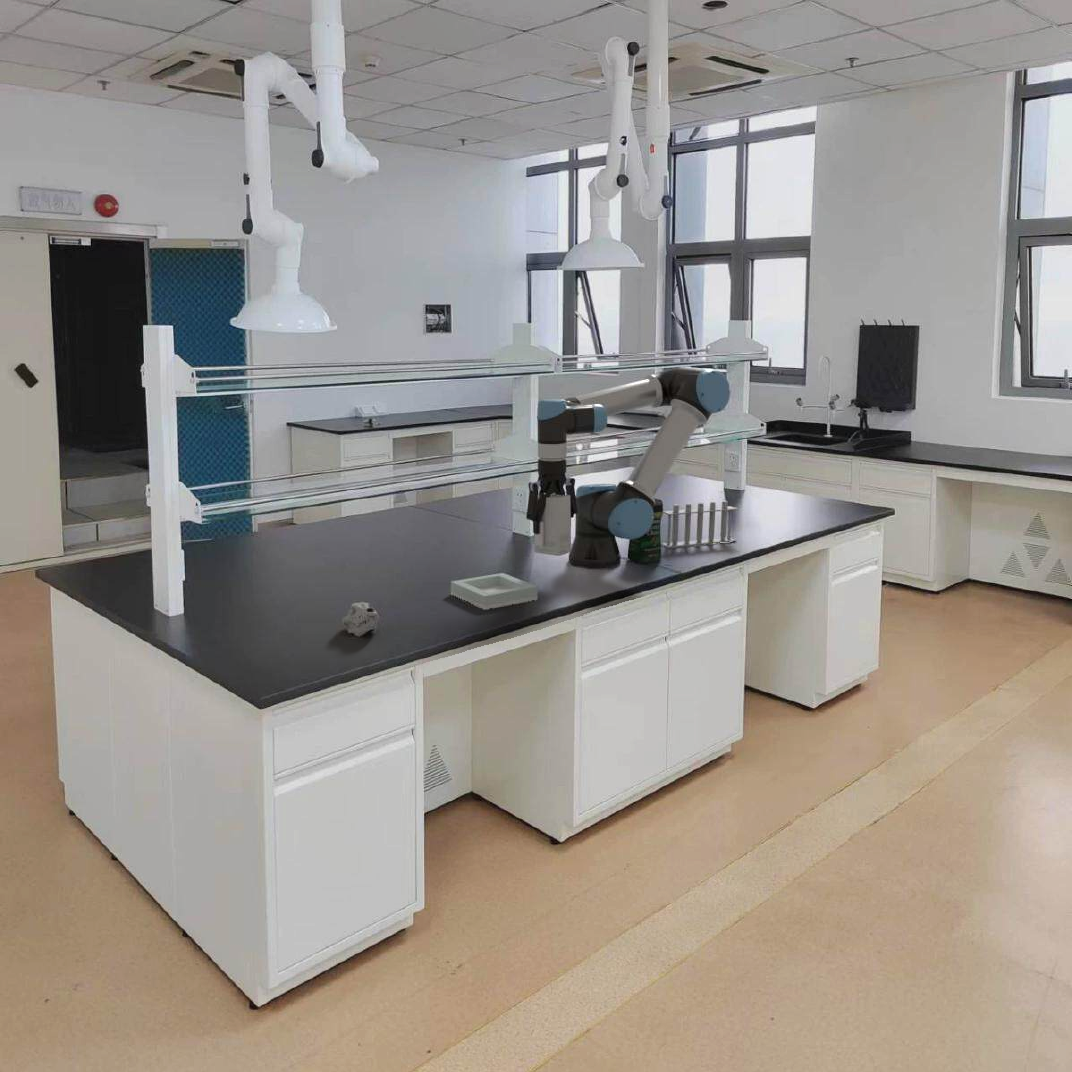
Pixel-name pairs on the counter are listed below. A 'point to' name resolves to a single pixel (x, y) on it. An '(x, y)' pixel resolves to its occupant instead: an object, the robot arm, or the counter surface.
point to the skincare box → (556, 526)
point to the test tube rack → (699, 525)
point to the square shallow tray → (494, 590)
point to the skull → (360, 619)
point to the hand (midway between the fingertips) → (552, 543)
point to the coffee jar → (648, 540)
